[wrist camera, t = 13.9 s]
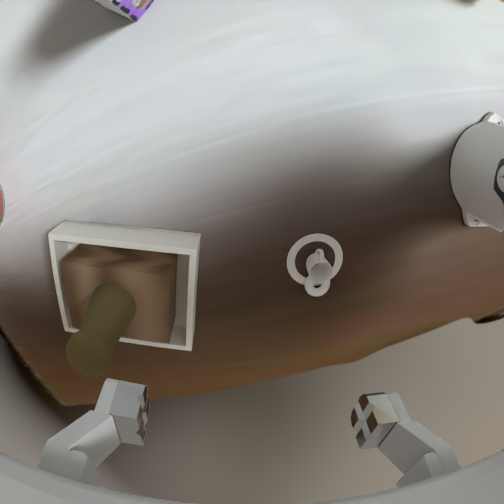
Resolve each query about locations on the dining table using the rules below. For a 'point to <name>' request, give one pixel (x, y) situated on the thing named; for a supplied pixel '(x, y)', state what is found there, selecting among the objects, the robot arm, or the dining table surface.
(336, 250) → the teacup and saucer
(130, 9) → the candy box
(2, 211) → the canned food
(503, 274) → the dining table surface
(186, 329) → the tote
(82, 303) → the walnut block
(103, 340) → the olive waisted cylinder
